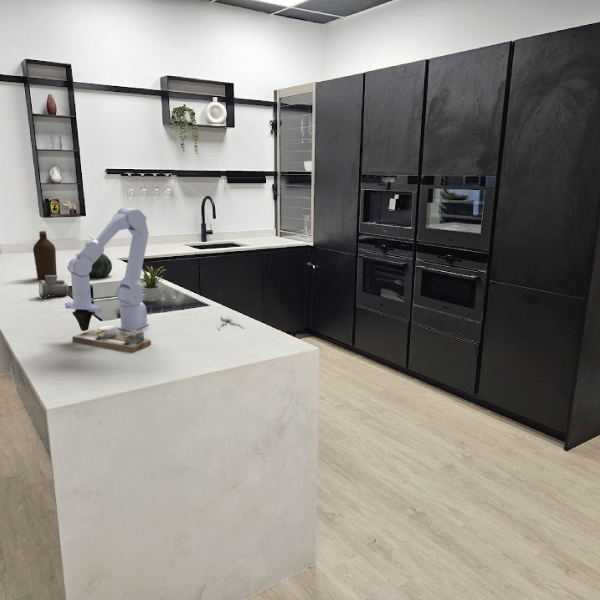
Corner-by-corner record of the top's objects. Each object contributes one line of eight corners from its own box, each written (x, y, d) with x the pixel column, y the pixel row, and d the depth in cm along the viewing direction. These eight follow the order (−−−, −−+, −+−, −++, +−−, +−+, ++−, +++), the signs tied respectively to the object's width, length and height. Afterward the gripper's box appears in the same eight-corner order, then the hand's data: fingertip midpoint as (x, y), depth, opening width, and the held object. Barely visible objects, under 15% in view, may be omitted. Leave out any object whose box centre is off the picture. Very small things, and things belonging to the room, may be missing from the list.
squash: (88, 263, 294) (82, 246, 282) (115, 264, 296) (111, 247, 283) (83, 283, 286) (77, 267, 274) (111, 284, 288) (106, 268, 275)
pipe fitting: (41, 299, 234) (41, 276, 233) (37, 296, 240) (38, 274, 239) (69, 298, 241) (70, 276, 240) (65, 296, 247) (66, 275, 246)
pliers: (218, 327, 194) (212, 316, 208) (218, 331, 195) (212, 320, 209) (244, 325, 197) (237, 314, 211) (244, 329, 198) (237, 318, 212)
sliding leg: (107, 333, 183) (106, 325, 183) (116, 334, 182) (115, 326, 181) (92, 339, 177) (91, 330, 176) (101, 340, 176) (100, 332, 175)
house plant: (175, 297, 243) (173, 262, 240) (165, 304, 230) (163, 267, 226) (145, 295, 245) (143, 261, 241) (133, 303, 231) (131, 266, 227)
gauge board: (92, 333, 188) (91, 321, 187) (150, 344, 178) (150, 331, 177) (72, 341, 180) (71, 328, 179) (132, 352, 170) (132, 339, 169)
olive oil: (60, 278, 279) (55, 231, 273) (38, 280, 272) (33, 232, 266) (55, 275, 287) (51, 229, 281) (34, 277, 281) (29, 230, 275)
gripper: (56, 292, 180) (60, 330, 183) (89, 297, 174) (92, 336, 178) (72, 288, 186) (75, 325, 189) (104, 292, 181) (107, 330, 184)
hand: (84, 330), depth 184 cm, fingers closed
